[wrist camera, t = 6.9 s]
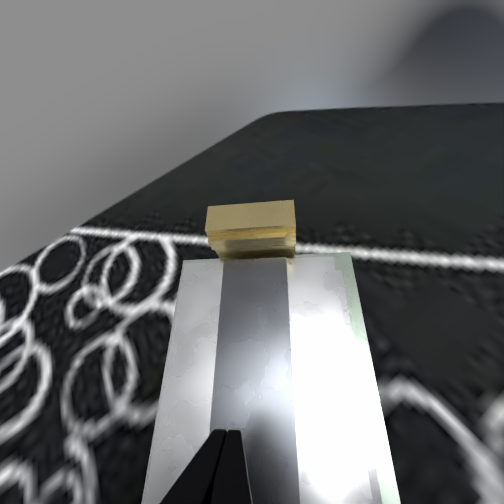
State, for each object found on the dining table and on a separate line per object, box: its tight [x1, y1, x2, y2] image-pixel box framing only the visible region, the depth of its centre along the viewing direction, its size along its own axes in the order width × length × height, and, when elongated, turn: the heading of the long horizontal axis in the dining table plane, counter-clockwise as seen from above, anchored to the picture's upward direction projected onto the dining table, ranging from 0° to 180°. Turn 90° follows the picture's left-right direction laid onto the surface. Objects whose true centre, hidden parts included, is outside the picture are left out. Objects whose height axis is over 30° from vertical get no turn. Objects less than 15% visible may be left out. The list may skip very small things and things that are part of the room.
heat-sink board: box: [141, 200, 401, 504], centre depth 14 cm, size 21×15×9 cm
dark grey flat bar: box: [209, 257, 300, 504], centre depth 13 cm, size 14×4×1 cm, turn 179°
